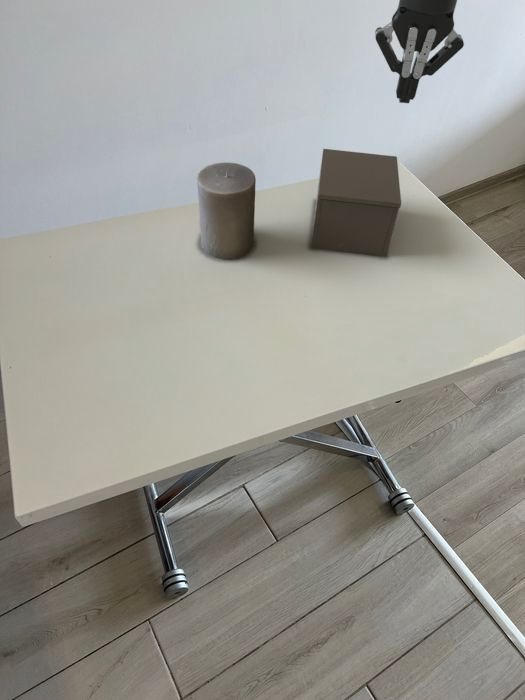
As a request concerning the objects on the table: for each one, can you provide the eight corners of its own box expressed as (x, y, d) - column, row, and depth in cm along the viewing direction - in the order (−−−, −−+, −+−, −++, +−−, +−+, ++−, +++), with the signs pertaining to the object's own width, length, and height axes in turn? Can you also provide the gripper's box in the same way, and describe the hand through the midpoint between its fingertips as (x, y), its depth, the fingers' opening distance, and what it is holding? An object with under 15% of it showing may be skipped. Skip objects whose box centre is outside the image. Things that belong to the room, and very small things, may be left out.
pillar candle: (264, 245, 97) (269, 170, 86) (226, 269, 92) (225, 193, 81) (227, 222, 101) (227, 148, 90) (188, 244, 96) (183, 168, 85)
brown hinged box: (385, 259, 96) (399, 208, 88) (310, 250, 97) (317, 198, 89) (383, 210, 106) (395, 160, 98) (315, 203, 107) (322, 152, 99)
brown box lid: (400, 208, 87) (401, 203, 86) (317, 198, 88) (318, 194, 87) (395, 160, 98) (396, 156, 97) (322, 152, 99) (323, 148, 98)
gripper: (386, -31, 67) (361, 107, 80) (492, -22, 66) (449, 116, 79) (384, -46, 72) (360, 87, 85) (483, -38, 71) (444, 94, 84)
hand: (404, 100), depth 82 cm, fingers closed
